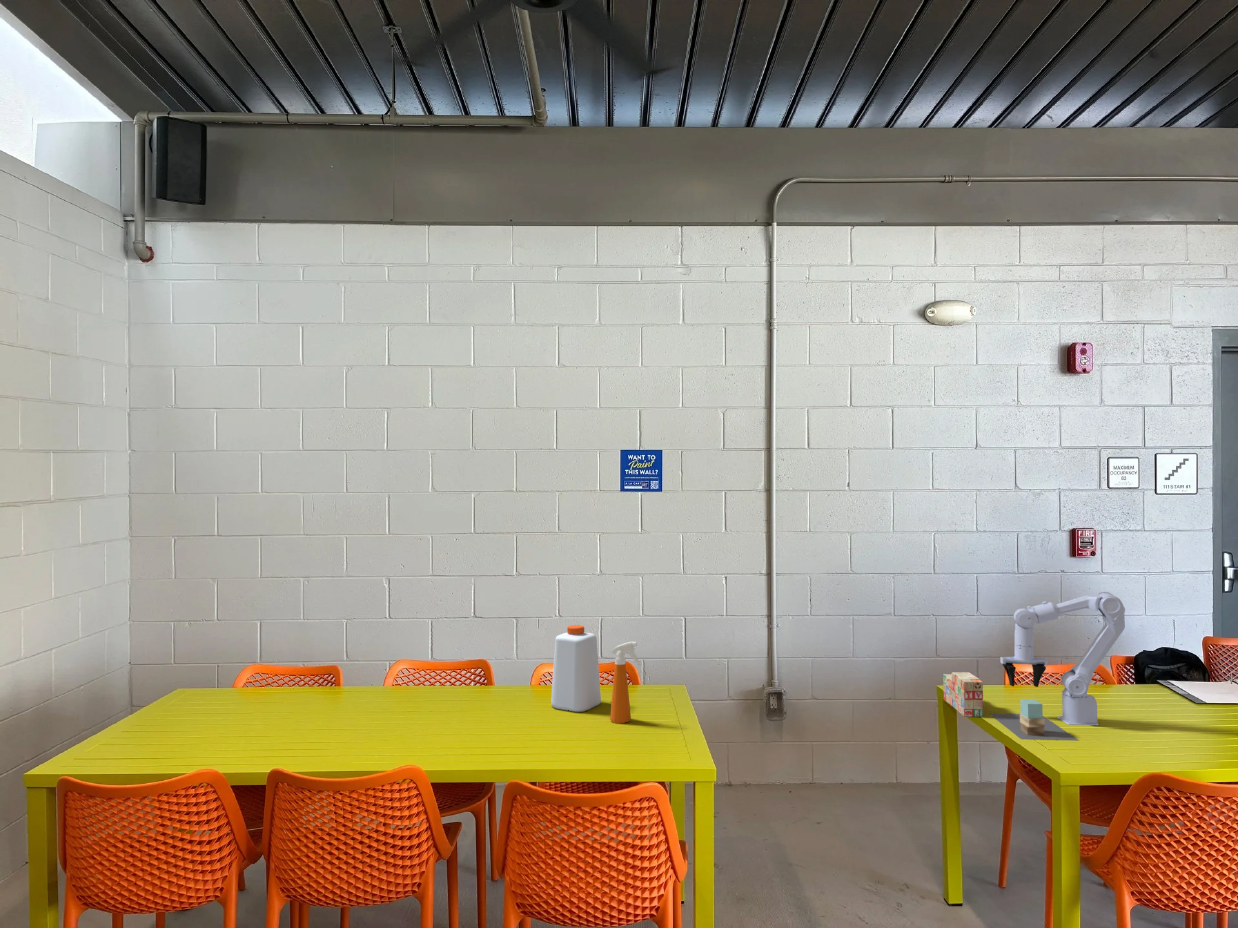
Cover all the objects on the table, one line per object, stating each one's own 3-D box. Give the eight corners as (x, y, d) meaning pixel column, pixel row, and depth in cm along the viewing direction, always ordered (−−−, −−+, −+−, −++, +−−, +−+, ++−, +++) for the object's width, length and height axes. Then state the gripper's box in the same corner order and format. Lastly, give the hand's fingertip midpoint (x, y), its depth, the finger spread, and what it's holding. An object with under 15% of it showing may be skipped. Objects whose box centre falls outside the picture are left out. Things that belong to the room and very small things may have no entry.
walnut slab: (1037, 730, 247) (1036, 722, 247) (1044, 735, 242) (1044, 727, 242) (1020, 729, 248) (1020, 721, 248) (1027, 734, 243) (1027, 726, 243)
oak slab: (1035, 721, 248) (1035, 713, 248) (1044, 726, 243) (1044, 718, 243) (1019, 722, 247) (1019, 714, 247) (1029, 727, 242) (1028, 719, 242)
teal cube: (1035, 713, 248) (1034, 699, 248) (1042, 718, 243) (1042, 703, 243) (1020, 713, 248) (1020, 699, 248) (1028, 718, 243) (1027, 703, 243)
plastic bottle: (582, 714, 267) (582, 632, 268) (546, 707, 275) (546, 628, 275) (605, 702, 280) (605, 624, 281) (570, 697, 288) (569, 621, 288)
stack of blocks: (942, 699, 283) (942, 665, 283) (960, 699, 282) (960, 665, 283) (964, 717, 262) (963, 680, 262) (983, 718, 261) (983, 681, 261)
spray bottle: (640, 724, 255) (639, 644, 256) (607, 722, 258) (607, 642, 258) (643, 718, 262) (643, 639, 263) (612, 716, 265) (612, 638, 265)
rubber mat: (1040, 715, 263) (1040, 714, 263) (1079, 741, 237) (1079, 740, 237) (988, 714, 265) (988, 713, 265) (1021, 739, 239) (1021, 738, 239)
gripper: (1041, 643, 265) (1041, 683, 265) (996, 641, 266) (996, 681, 266) (1050, 647, 258) (1050, 688, 258) (1005, 646, 259) (1005, 687, 259)
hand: (1023, 685), depth 262 cm, fingers open, 7 cm apart
